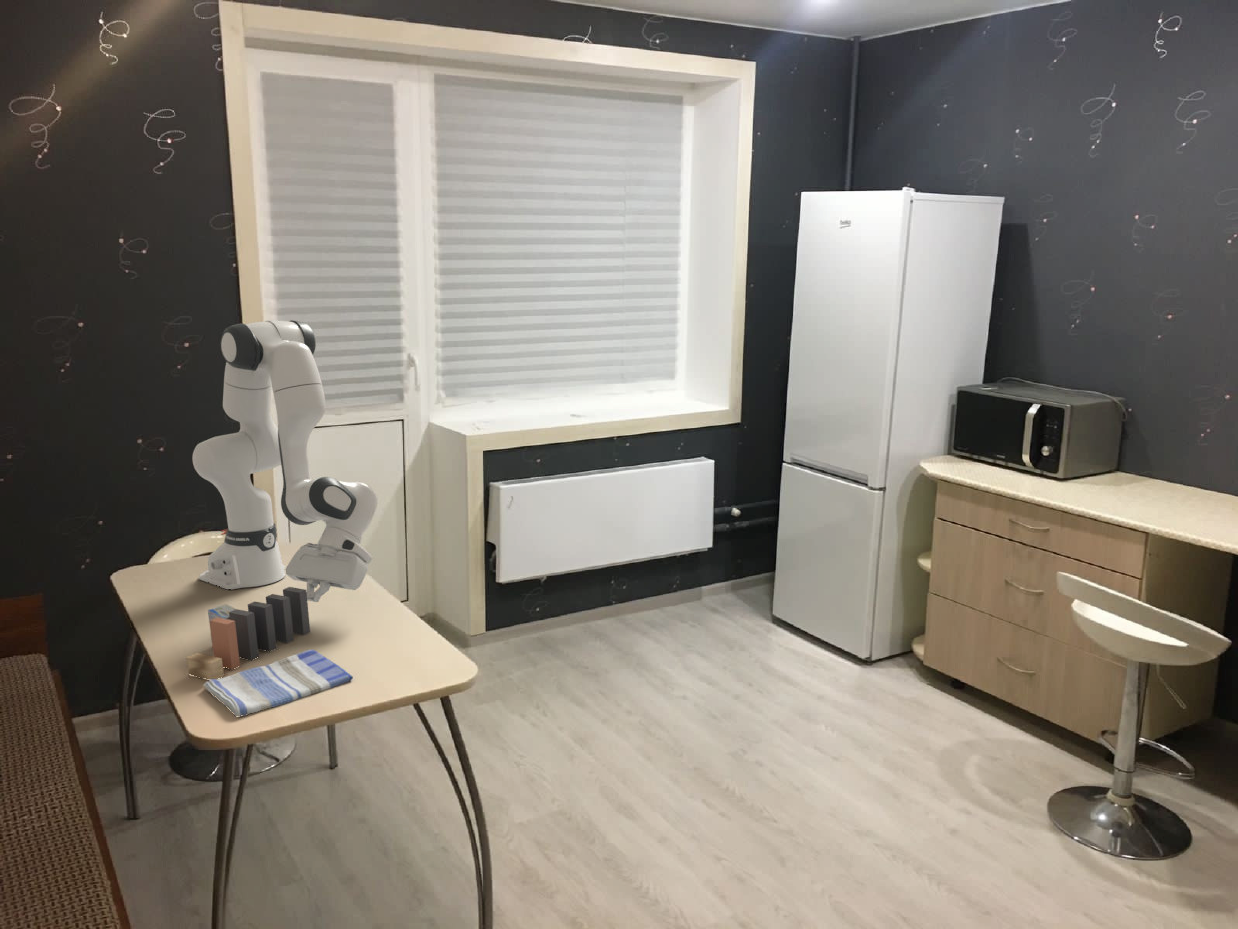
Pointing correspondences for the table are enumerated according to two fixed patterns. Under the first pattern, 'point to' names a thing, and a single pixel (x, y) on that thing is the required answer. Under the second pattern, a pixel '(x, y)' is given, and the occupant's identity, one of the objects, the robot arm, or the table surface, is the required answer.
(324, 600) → the table surface
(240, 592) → the table surface
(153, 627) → the table surface
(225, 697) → the dish towel
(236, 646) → the domino
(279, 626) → the domino
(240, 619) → the domino
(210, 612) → the medicine box
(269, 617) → the domino
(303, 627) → the domino
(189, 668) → the end block
